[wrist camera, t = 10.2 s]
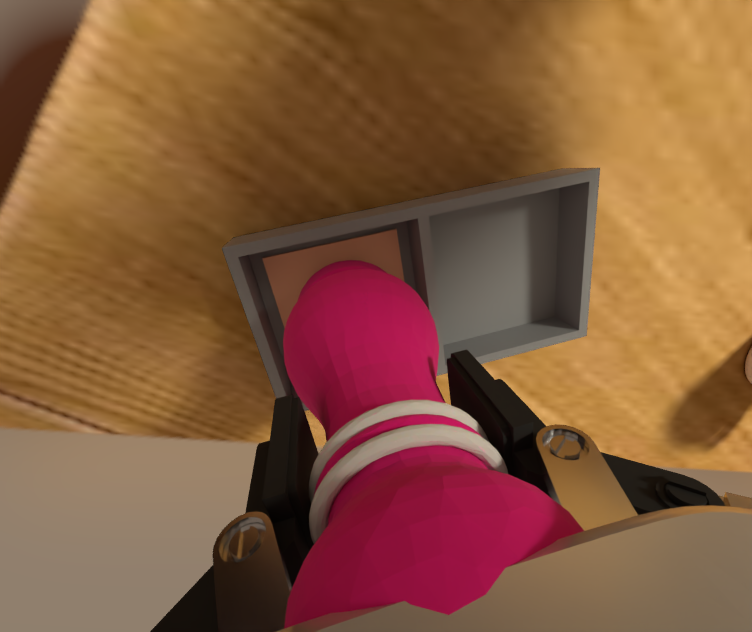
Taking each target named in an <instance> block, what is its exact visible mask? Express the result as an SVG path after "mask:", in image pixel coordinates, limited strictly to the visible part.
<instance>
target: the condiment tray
mask: <svg viewBox="0 0 752 632" xmlns="http://www.w3.org/2000/svg"><path fill="white" fill-rule="evenodd" d="M599 175H600V168H563V169H558V170H553V171H548V172H543V173H539V174H534V175H529V176H524V177H520V178H515V179H510V180H505V181H501V182H496V183H491V184H486V185H481V186H477V187H472V188H467V189H462V190H458V191H453V192H448V193H443V194H439V195H434V196H429V197H424V198H419V199H415V200H410V201H405V202H400V203H396V204H391V205H386V206H381V207H377V208H372V209H367V210H362V211H357V212H353V213H348V214H343V215H338V216H334V217H329V218H324V219H319V220H315V221H310V222H305V223H300V224H295V225H291V226H286V227H281V228H276V229H272V230H267V231H262V232H257V233H253V234H248V235H243V236H238V237H233V238H232V239H231V240H230V241H229V242H228V243H227V244H226V245H225V246H223V247H222V250H223V253H224V256H225V259H226V261H227V264H228V267H229V270H230V272H231V275H232V278H233V281H234V283H235V286H236V289H237V292H238V294H239V297H240V300H241V303H242V305H243V308H244V311H245V314H246V316H247V319H248V322H249V325H250V327H251V330H252V333H253V336H254V338H255V341H256V344H257V347H258V349H259V352H260V355H261V358H262V360H263V363H264V366H265V369H266V371H267V374H268V377H269V380H270V382H271V385H272V388H273V391H274V393H275V396H276V398H280V397H284V396H288V395H293V396H294V398H297V397H299V396H298V395H297V393H296V391H295V388H294V386H293V384H292V382H291V380H290V378H289V376H288V373H287V370H286V366H285V362H284V348H283V338H284V330H285V326H286V322H287V319H288V317H289V315H290V313H291V311H292V309H293V307H294V306H295V304H296V303H297V301H298V298H299V295H300V292H301V290H302V288H303V287H304V285H305V284H306V282H307V281H308V280H309V279H310V277H311V276H312V275H314V274H315V273H316V272H317V271H319V270H320V269H322V268H324V267H325V266H327V265H329V264H332V263H335V262H338V261H345V260H360V261H364V262H368V263H371V264H373V265H376V266H378V267H379V268H381V269H382V270H384V271H385V272H386V273H388V274H391V275H393V276H395V277H397V278H399V279H401V280H402V281H404V282H405V283H407V284H408V285H409V286H411V287H412V288H413V289H414V290H415V291H416V292H417V293H418V295H419V296H420V297H421V299H422V300H423V302H424V303H425V305H426V306H427V308H428V309H429V311H430V313H431V315H432V317H433V320H434V322H435V326H436V330H437V335H438V342H439V357H438V370H437V376H438V375H442V374H445V373H448V371H447V358H451V353H454V352H458V351H462V350H468V351H469V352H470V353H471V354H472V355H473V356H474V358H475V359H476V360H477V361H478V362H479V363H480V364H483V363H487V362H490V361H494V360H498V359H502V358H505V357H509V356H513V355H517V354H520V353H524V352H528V351H532V350H535V349H539V348H543V347H547V346H551V345H554V344H558V343H562V342H566V341H569V340H573V339H577V338H581V337H584V336H587V324H588V311H589V299H590V286H591V274H592V262H593V249H594V237H595V224H596V212H597V199H598V187H599ZM300 400H301V399H300ZM301 402H302V400H301ZM302 405H303V409H304V411H306V410H309V409H308V408H307V407H306V406H305V404H304V403H303V402H302Z"/></svg>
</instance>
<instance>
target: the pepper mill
mask: <svg viewBox="0 0 752 632" xmlns="http://www.w3.org/2000/svg"><path fill="white" fill-rule="evenodd" d="M283 348H284V362H285V366H286V370H287V373H288V376H289V378H290V380H291V382H292V384H293V386H294V388H295V391H296V393H297V395H298V396H299V397H300V399H301V400H302V402H303V403H304V404H305V406H306V407H307V408H308V409H309V410H310V411H311V412H312V413H313V414H314V415H315V417H316V418H317V419H318V420H319V421H320V423H321V424H322V426H323V427H324V429H325V432H326V440H327V442H326V444H325V445H324V447H323V448H322V450H321V451H320V453H319V455H318V456H317V458H316V460H315V462H314V464H313V468H312V471H311V475H310V481H309V498H310V502H311V508H310V514H309V527H310V534H311V538H312V541H313V543H314V545H313V546H312V548H311V550H310V551H309V553H308V555H307V557H306V558H305V560H304V562H303V564H302V566H301V569H300V571H299V573H298V576H297V578H296V580H295V583H294V585H293V587H292V590H291V593H290V596H289V598H288V603H287V609H286V617H285V626H284V629H285V628H288V627H291V626H294V625H297V624H299V623H302V622H305V621H308V620H311V619H314V618H317V617H320V616H324V615H327V614H330V613H338V612H348V611H354V610H360V609H366V608H372V607H378V606H383V605H388V604H394V603H398V602H402V601H406V602H407V603H409V604H411V605H414V606H418V607H421V608H425V609H429V610H432V611H436V612H440V613H443V614H447V615H450V614H452V613H453V612H455V611H457V610H459V609H461V608H462V607H464V606H466V605H468V604H470V603H471V602H473V601H475V600H477V599H479V598H481V597H482V596H484V595H486V594H487V592H488V591H489V590H490V588H491V587H492V585H493V584H494V583H495V581H496V580H497V579H498V577H499V576H500V575H501V573H502V572H503V571H504V569H505V568H506V567H509V566H511V565H513V564H516V563H518V562H520V561H522V560H524V559H526V558H527V557H529V556H531V555H533V554H534V553H536V552H538V551H540V550H541V549H543V548H545V547H547V546H549V545H551V544H552V543H554V542H555V541H556V540H558V539H561V538H564V537H567V536H570V535H573V534H577V533H580V532H583V531H584V530H583V529H582V527H581V526H580V525H579V524H578V522H577V521H576V520H575V519H574V517H573V516H572V515H571V514H570V512H569V511H567V510H566V509H565V508H563V507H562V506H561V505H560V504H558V503H557V502H556V501H554V500H553V499H552V498H551V497H549V496H548V495H547V494H545V493H544V492H543V491H541V490H540V489H539V488H538V487H536V486H534V485H532V484H529V483H527V482H525V481H523V480H520V479H518V478H516V477H514V476H511V475H509V474H508V470H507V467H506V465H505V462H504V460H503V458H502V457H501V455H500V454H499V452H498V451H497V450H496V449H495V448H494V447H493V446H492V445H491V444H490V443H489V441H488V438H487V436H486V434H485V432H484V431H483V429H482V427H481V426H480V425H479V424H478V423H477V421H476V420H474V419H473V418H472V417H471V416H470V415H469V414H467V413H466V412H464V411H462V410H461V409H459V408H456V407H454V406H451V405H449V404H446V403H445V401H444V399H443V397H442V394H441V392H440V390H439V388H438V386H437V384H436V376H437V370H438V357H439V342H438V335H437V330H436V326H435V322H434V320H433V317H432V315H431V313H430V311H429V309H428V308H427V306H426V305H425V303H424V302H423V300H422V299H421V297H420V296H419V295H418V293H417V292H416V291H415V290H414V289H413V288H412V287H411V286H409V285H408V284H407V283H405V282H404V281H402V280H401V279H399V278H397V277H395V276H393V275H391V274H388V273H386V272H385V271H384V270H382V269H381V268H379V267H378V266H376V265H373V264H371V263H368V262H364V261H360V260H345V261H338V262H335V263H332V264H329V265H327V266H325V267H324V268H322V269H320V270H319V271H317V272H316V273H315V274H314V275H312V276H311V277H310V279H309V280H308V281H307V282H306V284H305V285H304V287H303V288H302V290H301V292H300V295H299V298H298V301H297V303H296V304H295V306H294V307H293V309H292V311H291V313H290V315H289V317H288V319H287V322H286V326H285V330H284V338H283Z"/></svg>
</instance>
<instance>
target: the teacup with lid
mask: <svg viewBox="0 0 752 632" xmlns="http://www.w3.org/2000/svg"><path fill="white" fill-rule="evenodd" d="M745 373H746V376H747V379H748V380H749V382H750V383H751V384H752V347H751V348H750V350H749V353H748V355H747V358H746V363H745Z"/></svg>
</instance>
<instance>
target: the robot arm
mask: <svg viewBox="0 0 752 632" xmlns="http://www.w3.org/2000/svg"><path fill="white" fill-rule="evenodd" d="M447 371H448V380H449V389H450V399H451V406H454V407H456V408H459V409H461V410H462V411H464V412H466V413H467V414H469V415H470V416H471V417H472V418H473V419H474V420H476V421H477V423H478V424H479V425H480V426H481V427H482V429H483V431H484V432H485V434H486V436H487V438H488V441H489V443H490V444H491V445H492V446H493V447H494V448H495V449H496V450H497V451H498V452H499V454H500V455H501V457H502V458H503V460H504V462H505V465H506V467H507V470H508V474H509V475H511V476H514V477H516V478H518V479H520V480H523V481H525V482H527V483H529V484H532V485H534V486H536V487H538V488H539V489H540V490H541V491H543V492H544V493H545V494H547V495H548V496H549V497H551V498H552V499H553V500H554V501H556V502H557V503H558V504H560V505H561V506H562V507H563V508H565V509H566V510H567V511H569V512H570V514H571V515H572V516H573V517H574V519H575V520H576V521H577V522H578V524H579V525H580V526H581V527H582V529H583V530H584V531H583V532H580V533H577V534H573V535H570V536H567V537H564V538H561V539H558V540H556V541H555V542H554V543H552V544H551V545H549V546H547V547H545V548H543V549H541V550H540V551H538V552H536V553H534V554H533V555H531V556H529V557H527V558H526V559H524V560H522V561H520V562H518V563H516V564H513V565H511V566H509V567H506V568H505V569H504V571H503V572H502V573H501V575H500V576H499V577H498V579H497V580H496V581H495V583H494V584H493V585H492V587H491V588H490V590H489V591H488V592H487V594H486V595H484V596H482V597H481V598H479V599H477V600H475V601H473V602H471V603H470V604H468V605H466V606H464V607H462V608H461V609H459V610H457V611H455V612H453V613H452V614H450V615H447V614H443V613H440V612H436V611H432V610H429V609H425V608H421V607H418V606H414V605H411V604H409V603H407V602H406V601H402V602H398V603H394V604H388V605H383V606H378V607H372V608H366V609H360V610H354V611H348V612H338V613H330V614H327V615H324V616H320V617H317V618H314V619H311V620H308V621H305V622H302V623H299V624H297V625H294V626H291V627H288V628H285V629H284V626H285V617H286V609H287V603H288V598H289V596H290V593H291V590H292V587H293V585H294V583H295V580H296V578H297V576H298V573H299V571H300V569H301V566H302V564H303V562H304V560H305V558H306V557H307V555H308V553H309V551H310V550H311V548H312V546H313V545H314V543H313V541H312V538H311V534H310V527H309V514H310V508H311V502H310V498H309V481H310V475H311V471H312V468H313V464H314V462H315V460H316V458H317V456H318V455H319V454H318V451H317V448H316V445H315V442H314V439H313V436H312V433H311V430H310V427H309V424H308V421H307V418H306V415H305V412H304V409H303V405H302V402H301V400H300V397H297V398H294V396H293V395H288V396H284V397H280V398H276V400H275V406H274V413H273V421H272V428H271V436H270V441H267V442H263V443H259V444H258V446H257V450H256V456H255V462H254V467H253V473H252V479H251V484H250V490H249V496H248V501H247V507H246V513H245V514H243V515H240V516H238V517H237V518H235V519H234V520H232V521H231V522H230V523H229V524H228V525H227V526H226V527H225V528H224V529H223V530H222V531H221V533H220V534H219V536H218V537H217V539H216V542H215V545H214V547H213V566H212V567H211V568H210V569H209V570H208V571H207V572H206V573H205V574H204V575H203V576H202V577H201V578H200V579H199V581H198V582H197V583H196V584H195V585H194V586H193V587H192V588H191V589H190V590H189V591H188V592H187V593H186V594H185V595H184V597H183V598H182V599H181V600H180V601H179V602H178V603H177V604H176V605H175V606H174V607H173V608H172V609H171V610H170V612H168V613H167V614H166V616H165V617H164V618H163V619H162V620H161V621H160V622H159V623H158V624H157V625H156V626H155V627H154V628H153V629H152V630H151V632H752V498H749V497H745V496H741V495H736V494H732V493H728V492H725V495H724V497H723V496H718V495H717V494H716V493H715V492H714V491H713V490H711V489H710V488H709V487H708V486H706V485H704V484H702V483H701V482H699V481H697V480H695V479H693V478H690V477H687V476H685V475H681V474H678V473H674V472H671V471H667V470H663V469H660V468H656V467H653V466H649V465H645V464H642V463H638V462H634V461H631V460H627V459H624V458H620V457H616V456H613V455H609V454H605V453H602V452H600V451H599V449H598V448H597V446H596V444H595V443H594V441H593V440H592V439H591V438H590V437H589V436H588V435H587V434H585V433H584V432H583V431H581V430H579V429H576V428H574V427H571V426H566V425H550V426H547V427H546V425H545V424H544V423H543V422H542V421H541V420H540V419H539V418H538V417H537V416H536V415H535V414H534V413H533V412H532V411H531V410H530V409H529V407H528V406H527V405H526V404H525V403H524V402H523V401H522V400H521V399H520V398H519V397H518V396H517V395H516V394H515V393H514V392H513V391H512V389H511V388H510V387H509V386H508V385H507V384H506V383H505V382H504V381H503V380H501V379H497V380H494V378H493V377H492V376H491V375H490V374H489V373H488V372H487V371H486V370H485V369H484V367H483V366H482V365H481V364H480V363H479V362H478V361H477V360H476V359H475V358H474V356H473V355H472V354H471V353H470V352H469V351H468V350H462V351H458V352H454V353H451V358H447Z"/></svg>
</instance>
